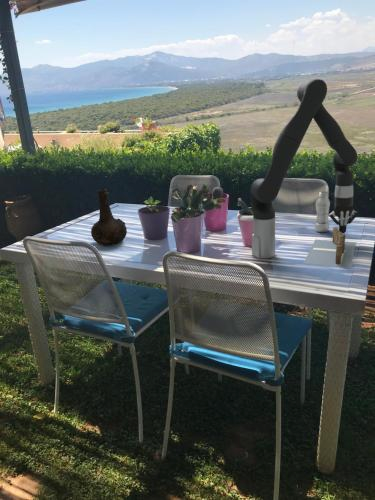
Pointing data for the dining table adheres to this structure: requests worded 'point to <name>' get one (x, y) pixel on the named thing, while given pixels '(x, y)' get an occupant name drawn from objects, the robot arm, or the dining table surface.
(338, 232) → the fence gate
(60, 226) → the dining table surface
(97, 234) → the brown long-necked vase
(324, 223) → the plastic bottle
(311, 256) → the card
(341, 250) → the fence fixed
